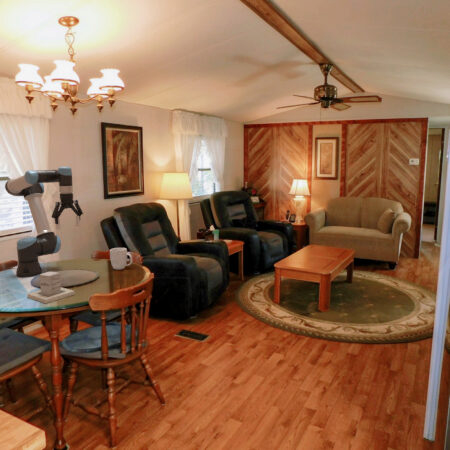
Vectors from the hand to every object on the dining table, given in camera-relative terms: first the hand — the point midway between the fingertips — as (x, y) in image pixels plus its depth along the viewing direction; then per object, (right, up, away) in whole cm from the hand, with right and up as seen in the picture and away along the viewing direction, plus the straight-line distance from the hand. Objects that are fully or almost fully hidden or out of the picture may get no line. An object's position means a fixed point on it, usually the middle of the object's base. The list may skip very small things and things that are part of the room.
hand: (68, 227), depth 256 cm
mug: (+25, -28, +26) cm, 46 cm away
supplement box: (+2, -37, -29) cm, 47 cm away
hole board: (+2, -37, -29) cm, 47 cm away
